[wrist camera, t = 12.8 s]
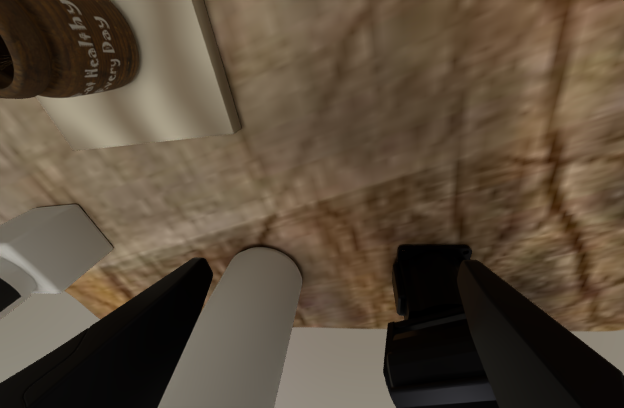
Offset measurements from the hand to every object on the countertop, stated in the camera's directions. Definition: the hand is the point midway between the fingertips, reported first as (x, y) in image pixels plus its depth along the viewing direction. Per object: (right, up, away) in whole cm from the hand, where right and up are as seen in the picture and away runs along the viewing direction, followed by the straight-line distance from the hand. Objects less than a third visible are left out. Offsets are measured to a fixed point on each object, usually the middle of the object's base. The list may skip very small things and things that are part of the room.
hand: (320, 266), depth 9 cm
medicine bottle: (-30, -1, +22) cm, 37 cm away
